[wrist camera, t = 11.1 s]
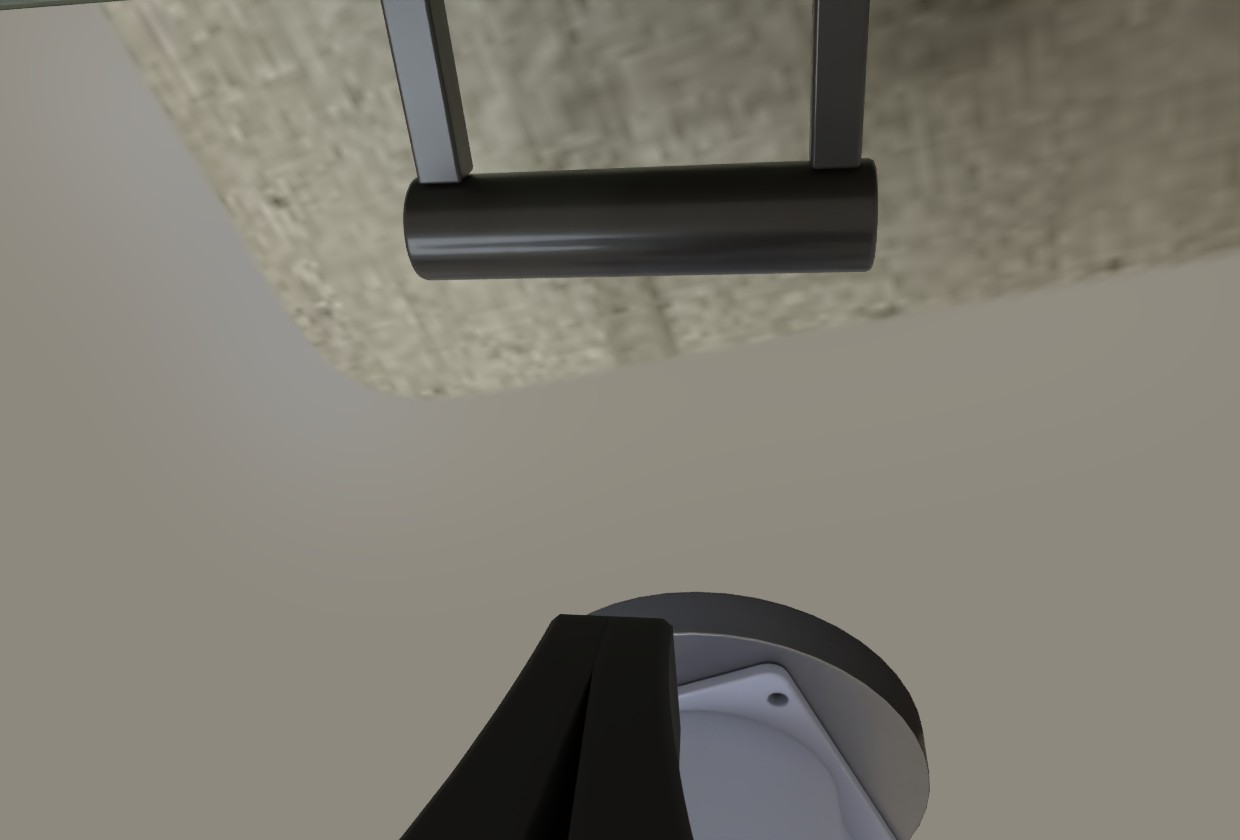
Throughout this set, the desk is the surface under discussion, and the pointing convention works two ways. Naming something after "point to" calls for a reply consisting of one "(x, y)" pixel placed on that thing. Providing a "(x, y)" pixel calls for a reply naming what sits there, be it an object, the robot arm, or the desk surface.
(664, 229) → the drawer
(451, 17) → the desk surface
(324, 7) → the desk surface
